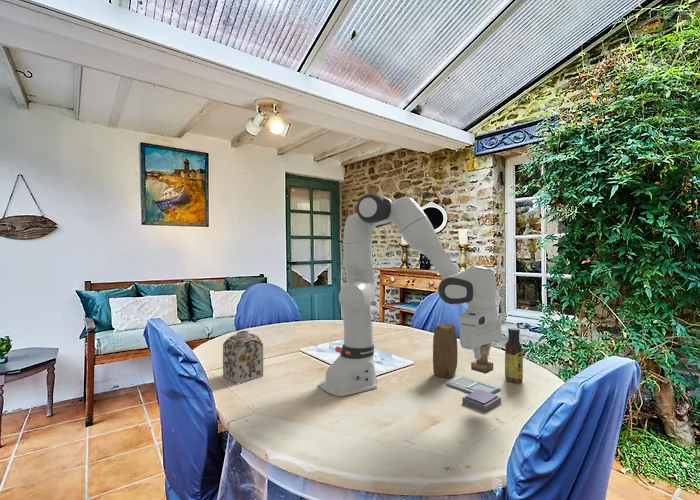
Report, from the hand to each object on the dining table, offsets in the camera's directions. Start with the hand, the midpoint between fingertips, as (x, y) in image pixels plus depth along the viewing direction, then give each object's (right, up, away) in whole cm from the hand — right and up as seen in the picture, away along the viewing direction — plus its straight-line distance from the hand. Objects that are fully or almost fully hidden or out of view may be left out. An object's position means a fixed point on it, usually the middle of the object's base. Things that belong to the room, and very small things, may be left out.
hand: (482, 357), depth 113 cm
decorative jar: (-86, -15, +24) cm, 90 cm away
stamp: (0, -4, 0) cm, 4 cm away
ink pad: (0, -15, 0) cm, 15 cm away
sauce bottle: (+19, -15, +19) cm, 31 cm away
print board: (+1, -15, +12) cm, 19 cm away
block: (-5, -15, +26) cm, 31 cm away
